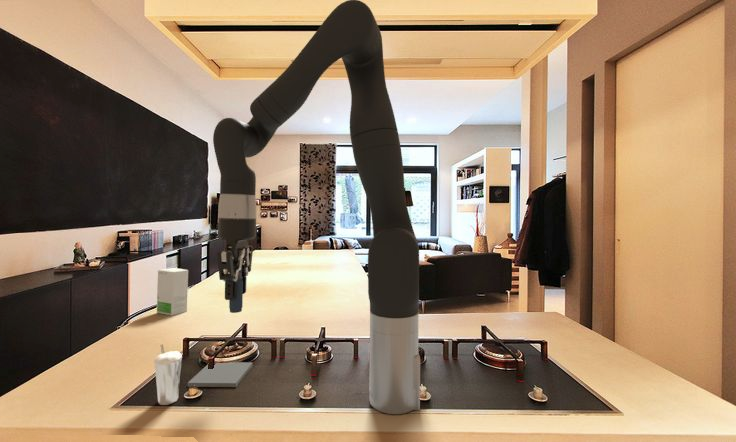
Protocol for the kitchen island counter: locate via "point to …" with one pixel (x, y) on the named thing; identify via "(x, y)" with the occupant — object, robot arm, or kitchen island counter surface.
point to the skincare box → (172, 291)
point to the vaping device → (237, 303)
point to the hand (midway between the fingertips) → (235, 296)
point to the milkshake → (167, 376)
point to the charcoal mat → (221, 375)
